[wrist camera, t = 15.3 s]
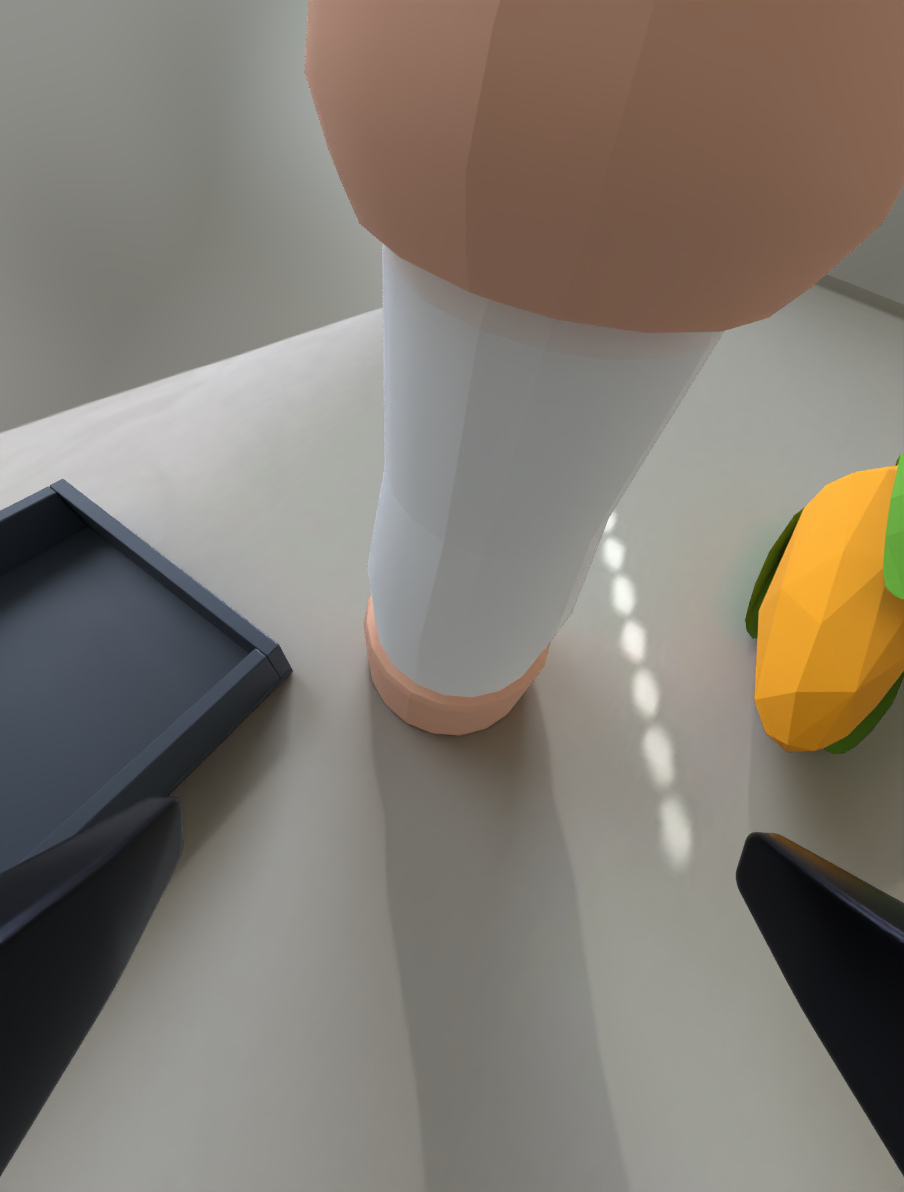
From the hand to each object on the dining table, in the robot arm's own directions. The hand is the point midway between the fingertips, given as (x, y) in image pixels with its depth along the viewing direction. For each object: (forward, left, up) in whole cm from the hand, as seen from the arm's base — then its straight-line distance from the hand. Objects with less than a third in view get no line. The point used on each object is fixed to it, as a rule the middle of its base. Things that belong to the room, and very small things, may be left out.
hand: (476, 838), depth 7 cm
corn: (+19, -10, -10) cm, 24 cm away
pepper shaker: (+7, +4, -10) cm, 13 cm away
